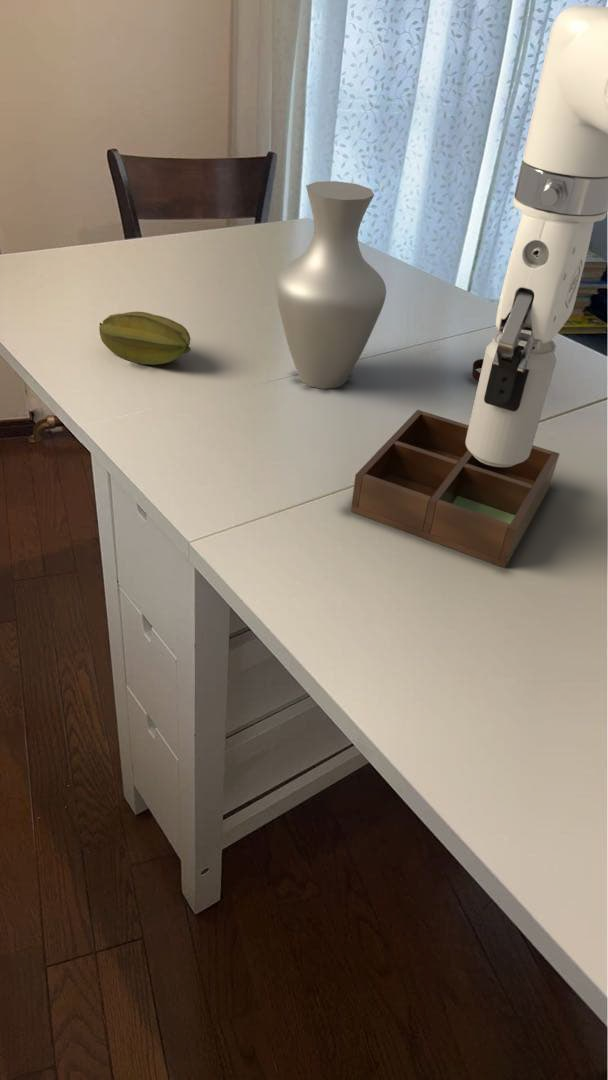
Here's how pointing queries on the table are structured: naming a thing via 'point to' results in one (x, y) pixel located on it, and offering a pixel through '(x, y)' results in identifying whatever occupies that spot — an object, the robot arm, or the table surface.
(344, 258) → the vase
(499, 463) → the beverage can
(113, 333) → the fruit
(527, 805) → the table surface
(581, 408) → the table surface
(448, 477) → the tray
